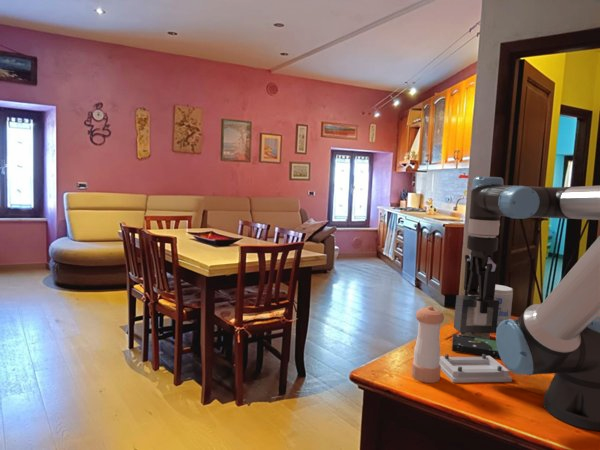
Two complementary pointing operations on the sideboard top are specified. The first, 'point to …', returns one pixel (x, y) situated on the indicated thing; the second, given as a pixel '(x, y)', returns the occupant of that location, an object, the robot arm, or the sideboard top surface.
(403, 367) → the sideboard top surface
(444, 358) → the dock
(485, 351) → the disk drive
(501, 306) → the supplement tub
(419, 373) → the salt shaker
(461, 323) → the grey plastic case
